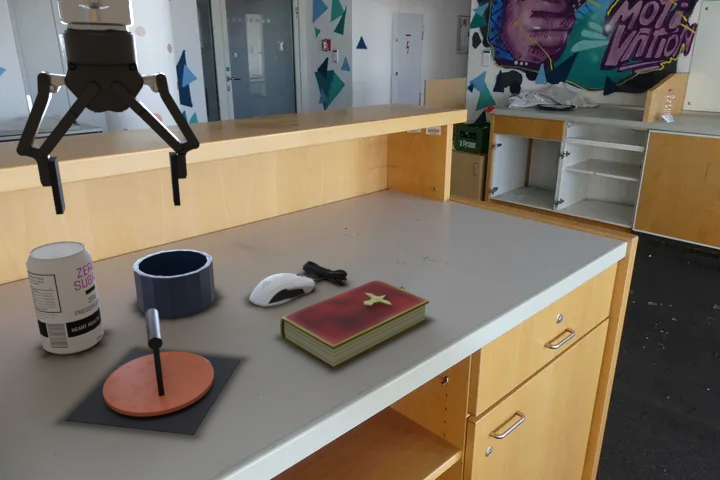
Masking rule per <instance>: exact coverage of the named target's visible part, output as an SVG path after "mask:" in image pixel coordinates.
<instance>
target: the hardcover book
mask: <svg viewBox="0 0 720 480" xmlns="http://www.w3.org/2000/svg"><path fill="white" fill-rule="evenodd" d="M428 304H430V300H429V299H426V298H424V297H422V296H419V295H416V294H415V293H412V292H410V291H407V290H405V289H402V288H400V287H397V286H396V285H393V284H390V283H388V282H387V281H386V282H385V281H383V280H381V279H378V278H377V279H374V280H371V281H369V282H366V283H363V284H360V285H359V286H356V287H354V288H351V289H349V290H346V291H344V292H341V293H339V294H337V295H333V296H332V297H329V298H327V299H324V300H321V301H319V302H317V303H313V304H312V305H308V306H306V307H304V308H302V309H299V310H297V311H293V312H291V313H289V314H287V315H284V316H282V317H281V318H280V324H279V325H280V328H279V329H280V337H281V339H282V340H283V341H285V342H286V343H288V344H290V345H291V346H293V347H294V348H296V349H298V350H300V351H301V352H303V353H305V354H306V355H307V356H309V357H310V358H312V359H313V360H316V361H317V362H318V363H320V364H322V365H324V366H326V367H327V368H329V369H330V370H332V371H335V370H336V369H339V368H341V367H343V366H344V365H346V364H348V363H350V362H352V361H354V360H356V359H357V358H360V357H362V356H363V355H365V354H367V353H370V352H371V351H373V350H375V349H376V348H378V347H379V348H380V347H381V346H382V345H384V344H387V343H388V342H390V341H392V340H394V339H396V338H398V337H400V336H402V335H404V334H406V333H407V332H409V331H411V330H413V329H415V328H417V327H419V326H420V325H423V324H424V323H427V322H428V321H429V320H428V319H427V318H425V316H426V305H428Z"/></svg>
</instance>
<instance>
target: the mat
mask: <svg viewBox="0 0 720 480" xmlns="http://www.w3.org/2000/svg"><path fill="white" fill-rule="evenodd" d="M150 354H153V350H144V349H133V351H132V352H131V353H130V354H129V355H127V356H126V357H125V359H124V360H123V361H122V362H121V363H120V364H118V366H117V367H116V368H115V369H114V370H113V371H112V372H111V373H110V374H109V375H108V376H107V377H105V379H104V380H103V381H102V382H101V383H100V384H99V385H98V386H97V387H96V388H95V389H94V390H93V391H92V392H91V393H90V394H89V395H88V396H87V397H86V398H85V399H84V401H82V402H81V403H80V404H79V405H78V406H77V407H76V408H75V409H74V410H73V412H71V414H69V416H67V417H66V418H65V422H74V423H84V424H92V425H100V426H101V425H102V426H109V427H117V428H126V429H133V430H135V429H136V430H143V431H153V432H159V433H160V432H161V433H169V434H179V435H187V436H194V435H195V434H196V432H197V430H198V429H199V427H200V425H202V423H203V421H204V419H205V418H206V416H207V415H208V413H209V411H210V410H211V408H212V407H213V405H214V403H215V402H216V400H217V398H218V397H219V396H220V393H221V392H222V390H223V389H224V388H225V386H226V384H227V383H228V381H229V380H230V378H231V376H232V374H233V373H234V372H235V370H236V369H237V367H238V365H239V363H240V362H241V359H239V358H229V357H228V358H227V357H218V356H207V355H200V356H201V357H203V358H205V359H206V360H208V361H209V362H210V364H211V365H212V367H213V370H214V381H213V384H212V386H211V388H210V389H209V390H208V392H207V393H206V394H205V395H204V396H203V397H201V398H200V399H199V400H197V401H196V402H194V403H193V404H191V405H189V406H187V407H185V408H182V409H180V410H177V411H174V412H171V413H167V414H162V415H157V416H144V417H140V416H130V415H125V414H121V413H119V412H116V411H114V410H113V409H111V408H110V407H109V406H108V405H107V404H106V402H105V400H104V397H103V386H104V384H105V382H106V380H107V379H108V377H109V376H110V375H111V374H112V373H113V372H114V371H115V370H117V369H118V368H119V367H121V366H123V365H124V364H126V363H128V362H130V361H132V360H135V359H137V358H140V357H143V356H146V355H150Z"/></svg>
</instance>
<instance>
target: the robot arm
mask: <svg viewBox="0 0 720 480" xmlns="http://www.w3.org/2000/svg"><path fill="white" fill-rule="evenodd" d="M57 5H58V13H59V20H60V22H61V23H62V25H63V24H64V25H67V27H66V29H64V30H63V32H62V40H63V46H64V54H65V60H66V73H65V74H57V73H56V74H55V73H51V72H50V71H46V70H45V71H41V72H39V73H38V74H37V76H36V84H37V93H36V97H35V99H34V102H33V104H32V107H31V110H30V112H29V115H28V118H27V120H26V122H25V125H24V127H23V130H22V133H21V135H20V138H19V141H18V144H17V146H16V148H15V151H16V153H17V155H19V156H20V157H28V158H32V159H34V160H35V161H36V164H37V170H38V171H37V172H38V174H39V181H40V185H42V187H43V188H46V187H47V188H48V187H51V193H52V197H53V199H52V200H53V205H54V209H55V215H56V216H57V215H58V216H59V215H64V213H65V211H66V202H65V197H64V190H63V184H62V178H61V172H60V166H59V159H58V156H50V155H51V153H52V152H53V151H54V149H55V148H56V147H57V145H58V144H59V143H60V141H61V140H62V139H63V138H64V136H65V135H66V133H67V132H68V131H69V130H70V129H71V127H73V125H74V123H75V122H76V121H77V119H78V118H79V117H80V115H81V114H83V112H84V111H85V109H87V110H88V111H90V112H93V113H95V114H98V113H104V112H105V113H106V112H112V113H123V112H126V111H127V110H129V109H131V110H132V111H133V112H134V114H135V115H137V116H138V117H139V118H140V119H141V120H142V121H143V122H144V123H145V124H146V125H147V126H148V127H149V128H150V129H151V130H152V131H154V132H155V133H156V135H158V136H159V137H160V138H161V139H162V140H163V141H164V142H165V143H166V144H167V145H168V147H169V148H171V149H172V150H173V151H168V158H169V168H170V180H171V191H172V201H173V206H174V207H181V205H182V203H181V194H180V182H179V180H184V179H185V180H186V179H187V176H188V169H187V154H188V153H189V152H191V151H193V150H198V149H199V148H200V145H201V144H200V141H199V140H198V138H197V136H196V135H195V132H194V131H193V129H192V128H191V126H190V125H189V123H188V121H187V119H186V118H185V116H184V114H183V113H182V111H181V109H180V108H179V106H178V104H177V103H176V101H175V99H174V98H173V96H172V94H171V93H170V88H169V84H168V79H167V76H166V75H165V73H164V72H160V71H158V72H156V73H155V74H146V75H145V74H144V75H142V73H141V72H140V70H139V66H138V55H137V45H136V36H135V34H134V33H133V32H132V31H130V30H129V27H132V26H133V25H134V16H133V7H132V0H57ZM61 86H66V88H67V89H68V90H69V91H70V92H71V93H72V95H73V96H74V97H75V98H76V99H75V101H74V102H73V103H72V105H71V106H70V108H69V109H68V110H67V111H66V113H65V114H63V116H62V118H61V119H60V120H59V122H58V123H57V124H56V126H55V127H54V128H53V129H52V131H51V132H50V133H49V135H48V136H47V137H46V139H45V140H44V141H43V142H42V144H41V145H40V146H39V145H37V144H36V145H35V141H36V138H37V135H38V133H39V131H40V127H41V125H42V123H43V120H44V118H45V115H46V113H47V110H48V107H49V104H50V102H51V100H52V95H53V94H56V93H58V92H59V90H60V88H61ZM144 86H148V87H149V88H150V90H151V91H152V93H155V94H156V93H157V94H158V95H159V97H160V98H161V100H162V102H163V104H164V105H165V107H166V109H167V110H168V112H169V114H170V115H171V117H172V119H173V121H174V122H175V124H176V126H177V127H178V128H179V130H180V132H181V134H182V135H183V137H184V140H180V139H179V138H178V137H177V136H176V135H175V134H174V133H173V132H172V131H170V129H169V128H168V127H167V126H165V124H164V123H163V122H162V121H160V119H158V117H157V116H156V115H155V114H154V113H152V111H150V109H148V107H147V106H146V105H145V104H144V103H143V101H142V100H140V99H139V98H138V95H139V94H140V93H141V91H142V89H143V88H144Z"/></svg>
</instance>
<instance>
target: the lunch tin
mask: <svg viewBox="0 0 720 480" xmlns="http://www.w3.org/2000/svg"><path fill="white" fill-rule="evenodd" d="M213 263H214V262H213V258H212V256H211V255H210V254H208V253H206V252H204V251H201V250H195V249H187V248H186V249H185V248H183V249H182V248H177V249H170V250H169V249H168V250H167V249H166V250H162V251H157V252H154V253H150V254H148V255H145V256H143V257H141V258H139V259H137V261H135V263H134V264H133V265H132V267H133V277H134V284H135V285H134V286H135V292H136V299H137V308H138V310H139V311H140V313H141V314H143V315H145V314H146V311H147V310H149V309H156V310H157V311H158V312H159V319H164V320H165V319H167V320H168V319H179V318H180V319H181V318H186V317H190V316H193V315H197V314H199V313H201V312H203V311H205V310H207V309H209V308H210V307H211V306H212V305H213V304H214V302H215V299H216V288H215V287H216V286H215V274H214V264H213Z"/></svg>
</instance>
